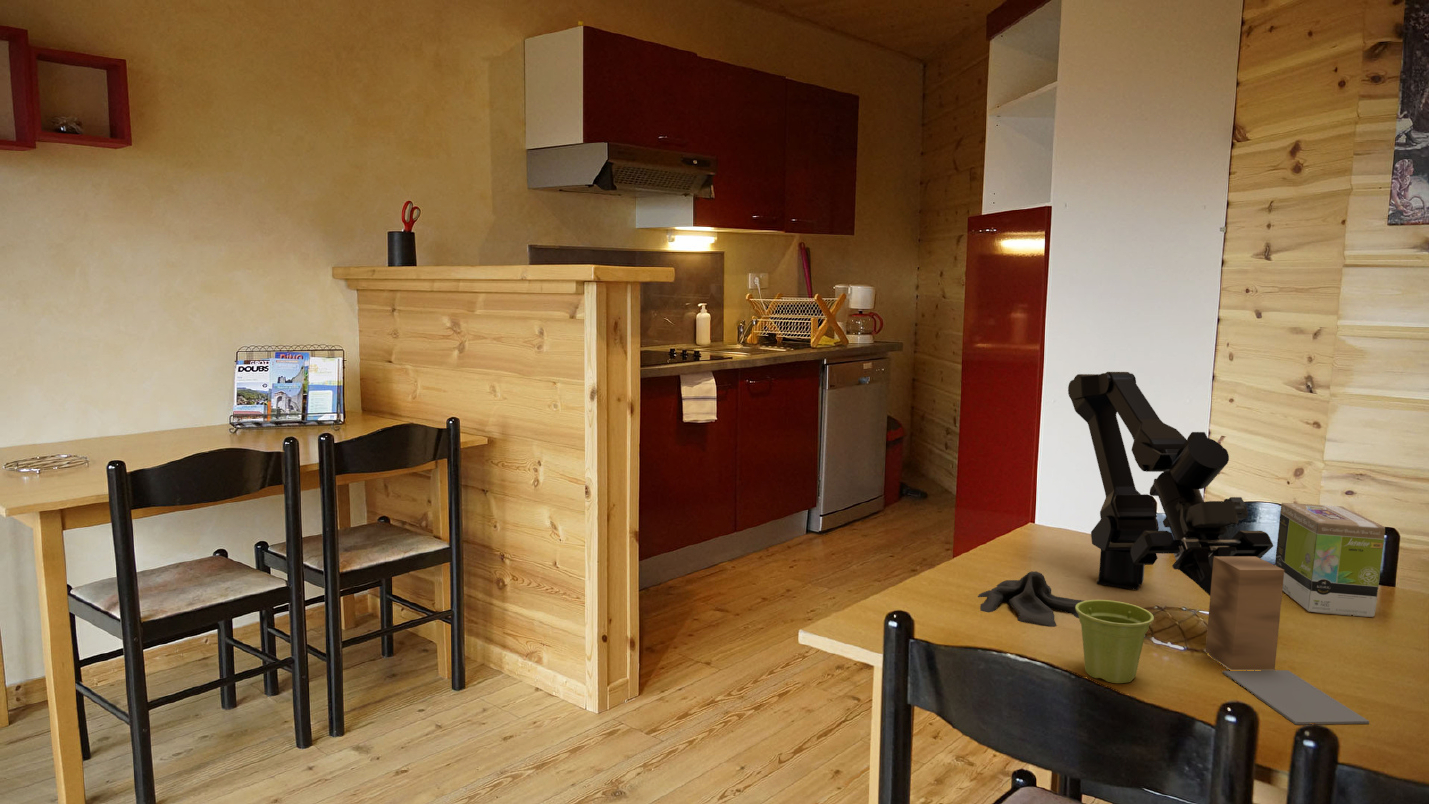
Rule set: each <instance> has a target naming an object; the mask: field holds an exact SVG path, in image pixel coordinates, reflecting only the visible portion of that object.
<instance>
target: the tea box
mask: <svg viewBox="0 0 1429 804" xmlns="http://www.w3.org/2000/svg"><path fill="white" fill-rule="evenodd" d="M1385 535H1386V527H1385V526H1383V525H1382V524H1381V523H1377V522H1375V521H1374V520H1372V519H1370V518H1367V517H1365V516H1363V515H1361V514H1359V513H1357V512H1354V511H1352V510H1350V509H1348V508H1346V507H1345V506H1341V505H1340V506H1339V505H1325V504H1308V503H1297V502H1296V503H1294V502H1281V505H1280V512H1279V523H1278V531H1277V542H1276V550H1275V551H1276V553H1275V563H1274V565H1275V566H1277V567H1279V568H1282V569H1284V579H1283V589H1282V592H1284V593H1285V594H1286V595H1287V596H1289V597H1290V598H1291V599H1292V600H1294V601H1295V602H1297V603H1298V604H1299V605H1300V606H1301V607H1303V608H1304V609H1305V610H1306V611H1307V612H1310V613H1311V612H1312V613H1319V614H1330V615H1340V616H1341V615H1342V616H1351V615H1353V617H1354V616H1355V617H1367V618H1369V617H1370V618H1374V616H1375V614H1376V608H1377V601H1378V590H1379V583H1380V577H1381V567H1382V559H1383V550H1384V546H1385V545H1384V543H1385Z"/></svg>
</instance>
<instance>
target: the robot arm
mask: <svg viewBox="0 0 1429 804" xmlns="http://www.w3.org/2000/svg"><path fill="white" fill-rule="evenodd" d="M1067 389H1068V390H1067V392H1068V393H1067V394H1068V397H1069V399H1070V400H1071V403H1072V407H1073V409H1074V411H1075V412H1076V414H1077V415H1079V416H1080V417H1081V418H1082V419H1083V420H1084V421H1085V422H1086V423H1087V424H1088V425H1087V426H1088V429H1089V434H1090V437H1091V441H1092V445H1093V449H1094V453H1095V457H1096V462H1097V465H1098V469H1099V473H1100V477H1101V481H1102V485H1103V489H1104V490H1103V491H1104V493H1105V499H1104V502H1103V504H1102V506H1101V508H1100V511H1099V516H1100V519H1099V521H1098V522H1097V523H1096V524H1095V526H1094V528H1093V529H1092V530H1091V531H1090V537H1091V544H1092V545H1093V546H1095V547H1097V548H1098V549H1100V555H1099V556H1100V557H1099V571H1098V578H1097V580H1096V584H1098V585H1101V586H1102V585H1104V586H1109V587H1115V588H1116V587H1117V588H1121V589H1122V588H1123V589H1128V590H1134V591H1135V590H1136V591H1137V590H1138V591H1139V588H1140V585H1142V584H1143V583H1144V577H1145V568H1146V567H1145V566H1147V565H1148V566H1149V565H1150V566H1153V565H1154V563H1156V561H1157V559H1158V556H1157V554H1164V555H1165V554H1169V555H1170V554H1173V556H1174V559H1175V561H1174V563H1173V564H1172V568H1173V569H1174V570H1178V571H1180V572H1181V573H1183V574H1184V575H1185V576H1186V577H1188V578H1189V579H1190V580H1191V581H1192V582H1194V583H1195V584H1196V585H1197V586H1198V587H1199V588H1201V589H1202V590H1203V591H1204V593H1206V594H1207V595H1208V596H1209V597H1210V594H1211V582H1212V571H1213V559H1214V557H1221V556H1256V557H1258V558H1260V559H1262V557H1264V556H1265V555H1266V554H1267V553H1268V552H1269V551H1270V550H1272V548H1274V544H1273V541H1272V539H1271V537H1270V536H1269V534H1268V533H1267V532H1265V531H1263V530H1238V532H1236V533H1235V535H1234V536H1233V537H1232V538H1230V539H1220V537H1219V536H1223V535H1224V534H1225V533H1226V532H1227V527H1228V526H1231V525H1234V526H1235V525H1236V526H1237V525H1238V524H1239V521H1242V520H1245V519H1247V518H1248V516H1249V512H1248V508H1247V505H1246V503H1245V502H1244V499H1243V497H1241V496H1238V497H1237V496H1236V497H1235V496H1234V497H1233V496H1232V497H1231V496H1230V497H1229V498H1225V499H1224V500H1221V501H1220V500H1207V501H1206V500H1204V497H1203V495H1202V493H1201V489H1205V488H1207V487H1208V486H1209V485H1210V484H1211V483H1212V482H1213V481H1214V480H1215V479H1216V477H1217V476H1218V475H1219V474H1220V473H1221V472H1222V470H1223V469H1224V468H1225V467H1226V466H1227V465H1228V463H1229V461H1230V454H1229V452H1228V450H1227V449H1226V448H1225V447H1224V446H1223V445H1222V444H1220V443H1219V442H1218V441H1216V440H1214V439H1212V438H1209V437H1208V436H1207V433H1206V432H1205V431H1192V432H1190V434H1189V435H1188V437H1187V438H1186V437H1185V436H1184V435H1183V434H1182V433H1181V432H1180V431H1179V430H1178V429H1177V428H1175V427H1172V426H1170V425H1169V424H1167V423H1165V422H1163V421H1162V420H1161V418H1160V417H1159V416H1158V413H1156V411H1155V410H1154V408H1153V406H1152V405H1151V403H1150V402H1149V401H1148V399H1147V398H1146V397H1145V395H1144V393H1143V392H1142V391H1141V389H1140V387H1139V386H1138V384H1137V379H1136V376H1135V375H1134V373H1132V372H1129V371H1106V372H1105V373H1103V372H1102V373H1100V374H1099V373H1098V374H1096V373H1095V374H1094V373H1092V374H1091V373H1090V374H1089V373H1088V374H1087V373H1083V374H1082V373H1079V374H1076V375H1075V376H1074V378H1073V379H1072V380H1070V381H1069V384H1068V387H1067ZM1117 415H1119V417H1120V420H1122V422H1123V423H1124V426H1125V427H1126V428H1127V429H1128V432H1129V433H1130V435H1131V437H1132V440H1133V443H1132V447H1131V452H1132V455H1133V457H1134V460H1135V462H1136V464H1137V465H1138V468H1139V469H1141V471H1142V472H1147V473H1148V472H1150V473H1151V472H1152V473H1153V472H1154V473H1155V472H1156V473H1157V472H1158V473H1159V472H1160V474H1159V475H1158V476H1157V477H1156V478H1154V479H1153V483H1152V485H1151V487H1150V489H1149V493H1148V494H1142V493H1141V492H1139V491H1138V490H1137V488H1136V484H1135V481H1134V477H1133V474H1132V471H1131V467H1130V466H1131V465H1130V462H1129V459H1128V458H1129V457H1128V455H1127V451H1126V446H1125V444H1124V440H1123V436H1122V432H1121V429H1120V424H1119V421H1118V417H1117ZM1152 497H1158V500H1159V501H1160V504H1161V507H1162V509H1163V512H1164V515H1165V517H1164V519H1163V520H1162V523H1163V527H1164V528H1169V529H1170V531H1169V530H1159V528H1160V527H1159V522H1158V519H1157V517H1158V515H1157V513H1156V512H1155V507H1154V504H1153V499H1152Z"/></svg>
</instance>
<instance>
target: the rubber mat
mask: <svg viewBox="0 0 1429 804" xmlns="http://www.w3.org/2000/svg"><path fill="white" fill-rule="evenodd" d="M1222 674H1224V676H1226V677H1227V676H1228V678H1229V677H1230V678H1231V680H1232V679H1233V680H1234V681H1236V682H1237V683H1238V684H1237V683H1236V682H1235V683H1236V684H1237V685H1239V686H1240V685H1241V686H1240V687H1242V686H1243V687H1245V688H1246V689H1247V690H1248V691H1247V690H1246V689H1245V690H1246V691H1247V692H1249V691H1250V692H1251V693H1250V692H1249V693H1250V694H1252V695H1253V694H1254V695H1255V697H1256V698H1257V699H1258V700H1260V701H1262V702H1263V703H1264V704H1266V705H1267V706H1269V707H1270V708H1271V709H1272V710H1274V711H1276V712H1277V713H1279V714H1280V715H1281V716H1283V717H1284V718H1285V719H1287V720H1288V721H1289V722H1291V723H1293V724H1294V725H1299V726H1301V725H1311V724H1310V723H1316V724H1315V725H1354V724H1355V725H1356V724H1357V725H1359V724H1361V725H1362V724H1363V725H1365V724H1370V720H1368V719H1366V718H1365V717H1363V716H1362V715H1360V714H1359V713H1357V712H1355V711H1354V710H1352V709H1351V708H1349V707H1347V706H1346V705H1344V704H1343V703H1342V702H1340V701H1338V700H1337V699H1335V698H1333V697H1331V696H1330V695H1328V694H1327V693H1325V692H1323V691H1322V690H1321V689H1320V688H1317V687H1315V686H1314V685H1312V684H1311V683H1310V682H1307V681H1306V680H1304V679H1303V678H1301V677H1299V676H1298V675H1296V674H1295V673H1293V672H1291V671H1290V670H1287V669H1284V670H1282V669H1281V670H1280V669H1279V670H1278V669H1276V670H1261V671H1229V670H1222ZM1230 678H1229V679H1230ZM1233 680H1232V681H1233ZM1234 681H1233V682H1234ZM1243 687H1242V688H1243ZM1254 695H1253V696H1254Z"/></svg>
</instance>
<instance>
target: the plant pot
mask: <svg viewBox="0 0 1429 804" xmlns="http://www.w3.org/2000/svg"><path fill="white" fill-rule="evenodd" d="M1075 609H1076V612H1077V613H1078V614H1079V618H1078V619H1079V620H1078V621H1079V622H1080V624H1081V635H1082V646H1083V661H1084V670H1085V673H1086V674H1088V675H1089V676H1090V677H1091V678H1094V679H1102V680H1104V681H1106V682H1108V683H1113V684H1114V683H1115V684H1127V683H1131V682H1132V681H1133V679H1135V678H1136V676H1137V672H1138V666H1139V663H1140V658H1141V653H1142V649H1143V644H1144V640H1145V636H1146V633H1147V632H1148V631H1149V628H1150V624H1152V623H1153V622H1154V618H1155V617H1154V615H1153V613H1152V612H1150V611H1149V610H1147V609H1145V608H1143V607H1141V606H1138V605H1135V604H1131V603H1128V602H1122V601H1119V600H1117V601H1116V600H1110V599H1109V600H1108V599H1090V600H1089V599H1087V600H1084V601H1082V602H1080V603H1078V604H1077V605H1076V606H1075Z"/></svg>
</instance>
